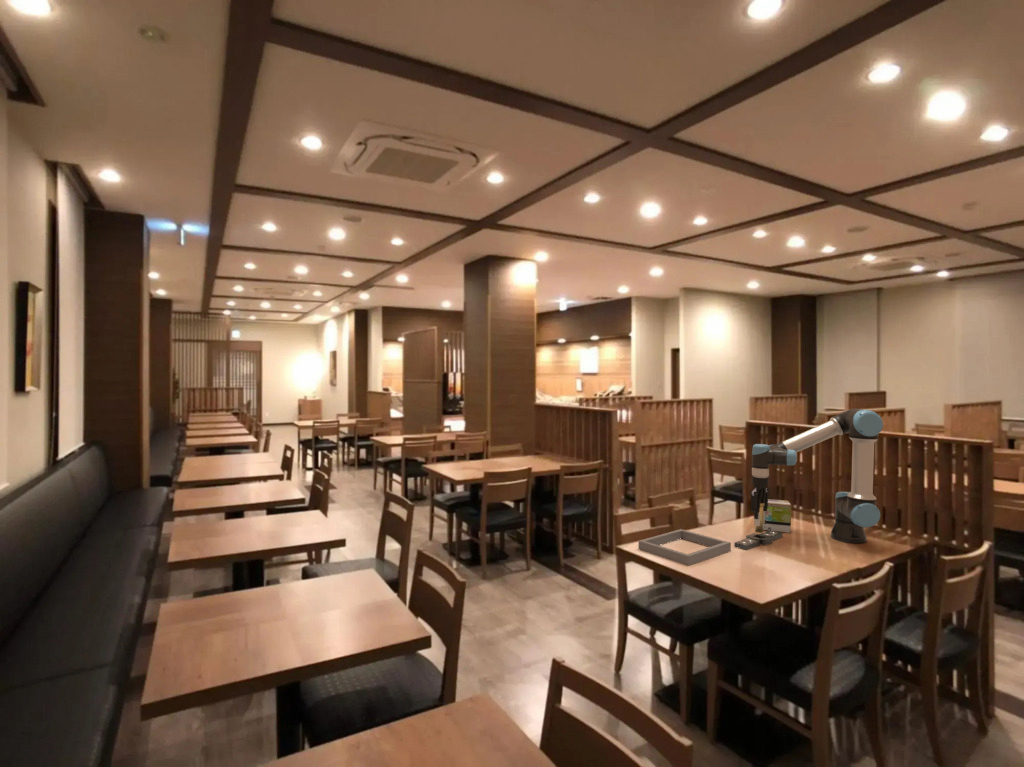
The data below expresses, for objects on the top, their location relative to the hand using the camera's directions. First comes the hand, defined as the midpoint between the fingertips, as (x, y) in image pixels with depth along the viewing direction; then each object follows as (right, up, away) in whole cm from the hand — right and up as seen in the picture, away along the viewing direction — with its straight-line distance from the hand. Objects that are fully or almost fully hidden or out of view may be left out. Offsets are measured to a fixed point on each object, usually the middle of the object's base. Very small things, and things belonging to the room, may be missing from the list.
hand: (759, 524), depth 272 cm
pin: (0, -3, 0) cm, 3 cm away
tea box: (+17, -8, +22) cm, 29 cm away
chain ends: (0, -8, 0) cm, 8 cm away
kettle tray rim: (-40, -8, -13) cm, 43 cm away
